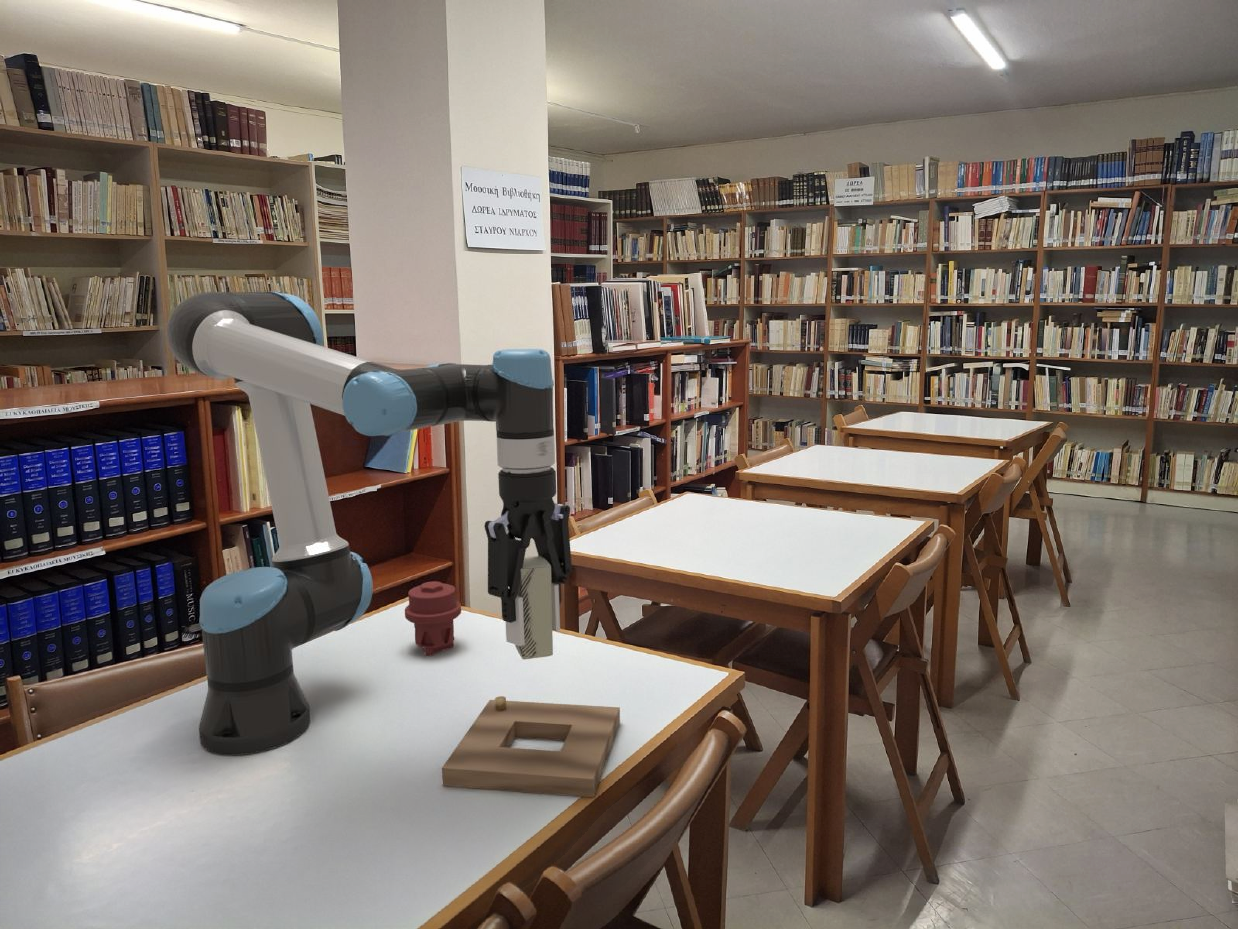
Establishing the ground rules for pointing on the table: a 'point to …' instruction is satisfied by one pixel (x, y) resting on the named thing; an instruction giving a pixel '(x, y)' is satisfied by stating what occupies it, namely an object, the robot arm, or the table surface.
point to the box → (536, 608)
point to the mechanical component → (433, 615)
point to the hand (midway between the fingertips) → (533, 635)
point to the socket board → (562, 772)
